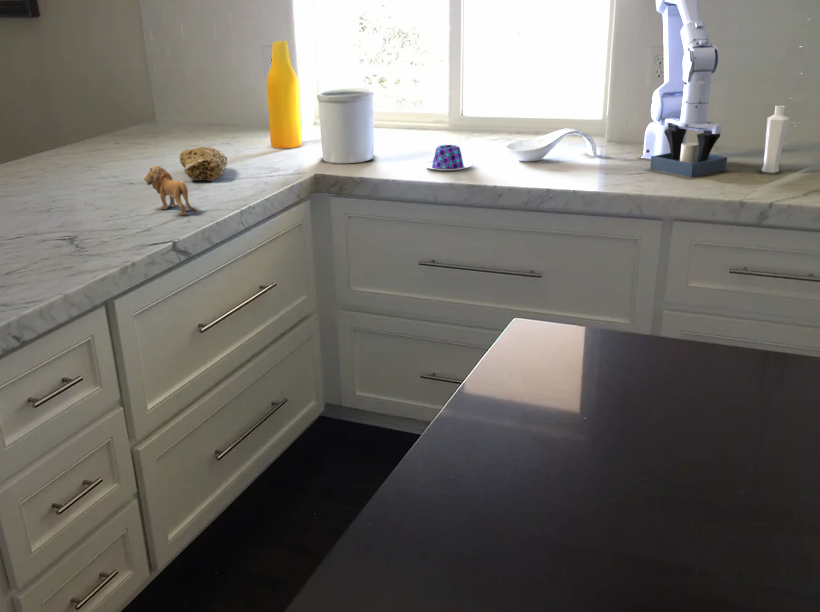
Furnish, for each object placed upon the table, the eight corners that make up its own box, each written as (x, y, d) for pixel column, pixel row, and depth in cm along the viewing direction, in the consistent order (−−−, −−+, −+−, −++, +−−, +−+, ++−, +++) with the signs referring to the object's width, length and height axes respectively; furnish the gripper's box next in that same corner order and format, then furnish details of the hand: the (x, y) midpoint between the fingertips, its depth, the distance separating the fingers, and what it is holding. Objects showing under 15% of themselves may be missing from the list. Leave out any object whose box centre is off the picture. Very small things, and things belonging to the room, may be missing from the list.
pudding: (439, 161, 227) (439, 140, 224) (480, 165, 220) (480, 144, 218) (415, 169, 218) (414, 148, 216) (457, 174, 211) (457, 152, 209)
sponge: (228, 186, 213) (233, 154, 229) (218, 157, 209) (225, 126, 225) (177, 197, 214) (186, 165, 230) (166, 168, 210) (176, 137, 226)
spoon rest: (512, 165, 218) (513, 136, 216) (498, 156, 229) (499, 129, 226) (602, 159, 221) (604, 131, 218) (584, 151, 232) (586, 124, 229)
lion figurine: (144, 208, 190) (139, 167, 187) (163, 203, 194) (158, 162, 190) (188, 217, 181) (183, 174, 178) (207, 212, 185) (202, 170, 182)
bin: (649, 170, 208) (651, 156, 207) (683, 163, 213) (685, 149, 212) (690, 178, 198) (692, 163, 197) (725, 171, 204) (727, 157, 203)
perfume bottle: (783, 174, 199) (794, 107, 193) (762, 174, 200) (772, 107, 194) (778, 170, 203) (788, 104, 197) (758, 170, 204) (768, 104, 198)
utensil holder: (311, 163, 230) (307, 94, 223) (333, 152, 243) (330, 87, 236) (362, 165, 225) (360, 95, 218) (382, 154, 238) (381, 88, 231)
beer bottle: (274, 143, 260) (267, 40, 248) (304, 142, 258) (299, 40, 247) (267, 148, 251) (260, 43, 240) (298, 148, 250) (292, 42, 239)
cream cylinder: (675, 169, 206) (678, 144, 204) (683, 166, 208) (686, 141, 206) (691, 171, 203) (694, 145, 201) (699, 169, 206) (702, 143, 203)
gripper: (658, 100, 204) (652, 158, 209) (710, 106, 192) (702, 168, 197) (678, 97, 207) (672, 155, 212) (731, 103, 195) (723, 164, 201)
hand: (688, 161), depth 205 cm, fingers open, 7 cm apart
